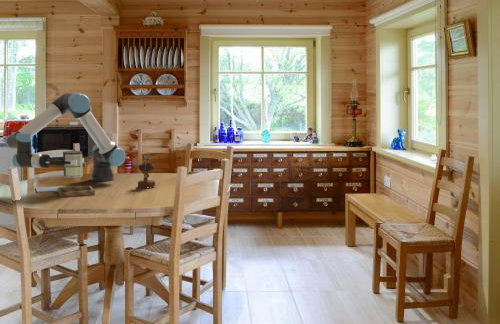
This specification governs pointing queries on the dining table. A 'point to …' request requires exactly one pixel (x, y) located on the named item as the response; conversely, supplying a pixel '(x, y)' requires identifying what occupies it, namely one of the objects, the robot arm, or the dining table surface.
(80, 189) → the square wooden tray
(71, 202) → the dining table surface
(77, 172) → the coffee can
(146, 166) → the bird automaton toy
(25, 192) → the dining table surface
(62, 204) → the dining table surface
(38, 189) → the slate mat
